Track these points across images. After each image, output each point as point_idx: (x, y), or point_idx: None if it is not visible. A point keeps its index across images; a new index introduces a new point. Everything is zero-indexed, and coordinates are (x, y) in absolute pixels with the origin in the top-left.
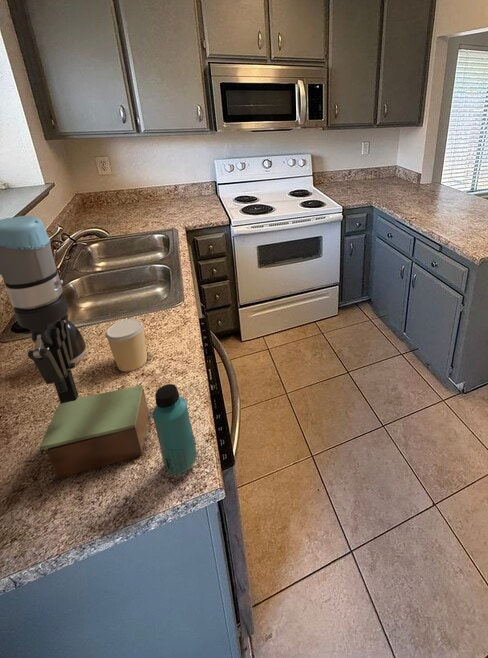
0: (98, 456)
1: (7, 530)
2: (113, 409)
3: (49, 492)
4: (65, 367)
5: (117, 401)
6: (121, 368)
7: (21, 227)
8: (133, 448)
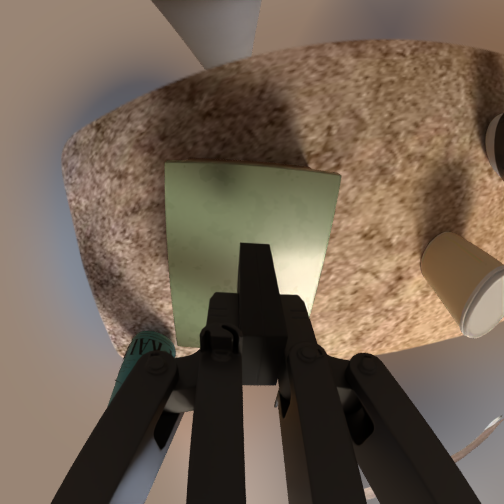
0: None
1: (116, 108)
2: None
3: (163, 151)
4: (281, 392)
5: None
6: (434, 244)
7: None
8: None
